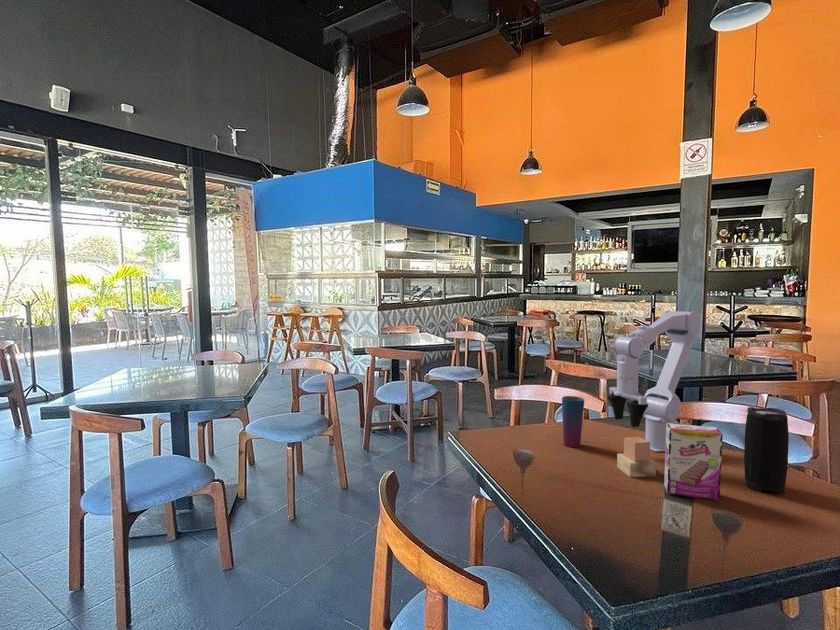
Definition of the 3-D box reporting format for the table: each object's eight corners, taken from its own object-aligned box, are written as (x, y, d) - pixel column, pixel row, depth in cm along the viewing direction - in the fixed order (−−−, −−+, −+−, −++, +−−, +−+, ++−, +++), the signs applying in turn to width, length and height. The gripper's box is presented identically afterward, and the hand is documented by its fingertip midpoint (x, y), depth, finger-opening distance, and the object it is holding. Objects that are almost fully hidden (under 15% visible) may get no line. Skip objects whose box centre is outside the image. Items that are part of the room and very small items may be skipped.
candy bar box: (667, 495, 108) (668, 428, 107) (663, 486, 113) (664, 422, 112) (721, 502, 105) (723, 432, 104) (715, 492, 109) (717, 426, 108)
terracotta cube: (638, 454, 125) (638, 436, 125) (649, 460, 121) (649, 442, 120) (623, 455, 124) (624, 437, 124) (634, 461, 120) (634, 443, 120)
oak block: (641, 467, 126) (641, 453, 126) (655, 477, 119) (656, 462, 119) (617, 467, 126) (617, 453, 126) (629, 478, 119) (630, 463, 119)
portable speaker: (774, 481, 115) (777, 406, 114) (795, 498, 106) (798, 416, 105) (736, 478, 117) (738, 404, 116) (753, 494, 108) (756, 414, 107)
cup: (586, 448, 140) (587, 401, 140) (563, 448, 141) (564, 400, 140) (579, 441, 147) (580, 396, 146) (558, 440, 148) (559, 395, 147)
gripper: (600, 373, 139) (600, 416, 140) (631, 382, 125) (630, 430, 126) (621, 372, 141) (620, 415, 142) (653, 381, 127) (652, 429, 127)
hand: (626, 422), depth 134 cm, fingers open, 7 cm apart
